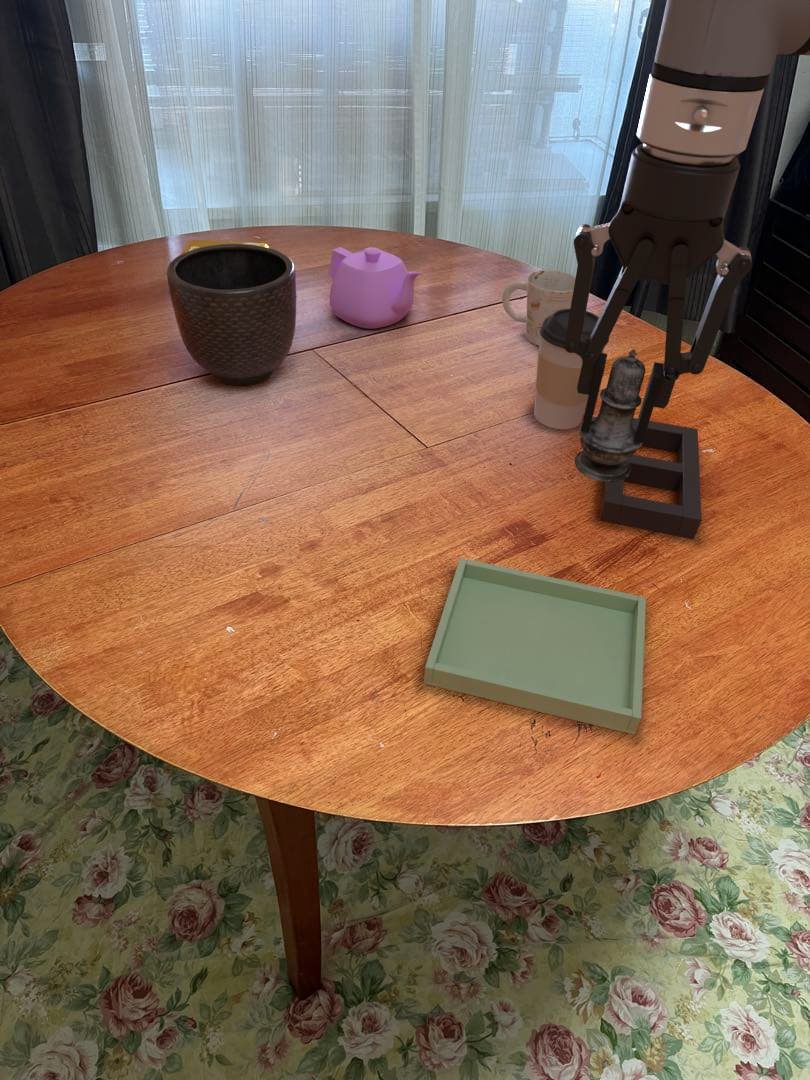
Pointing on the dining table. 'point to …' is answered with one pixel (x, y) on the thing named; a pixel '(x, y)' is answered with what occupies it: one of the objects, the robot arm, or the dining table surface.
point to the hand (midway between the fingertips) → (612, 428)
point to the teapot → (370, 287)
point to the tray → (542, 645)
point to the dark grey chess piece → (613, 424)
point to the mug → (541, 299)
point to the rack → (660, 485)
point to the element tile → (204, 243)
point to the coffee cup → (560, 374)
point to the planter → (235, 309)
